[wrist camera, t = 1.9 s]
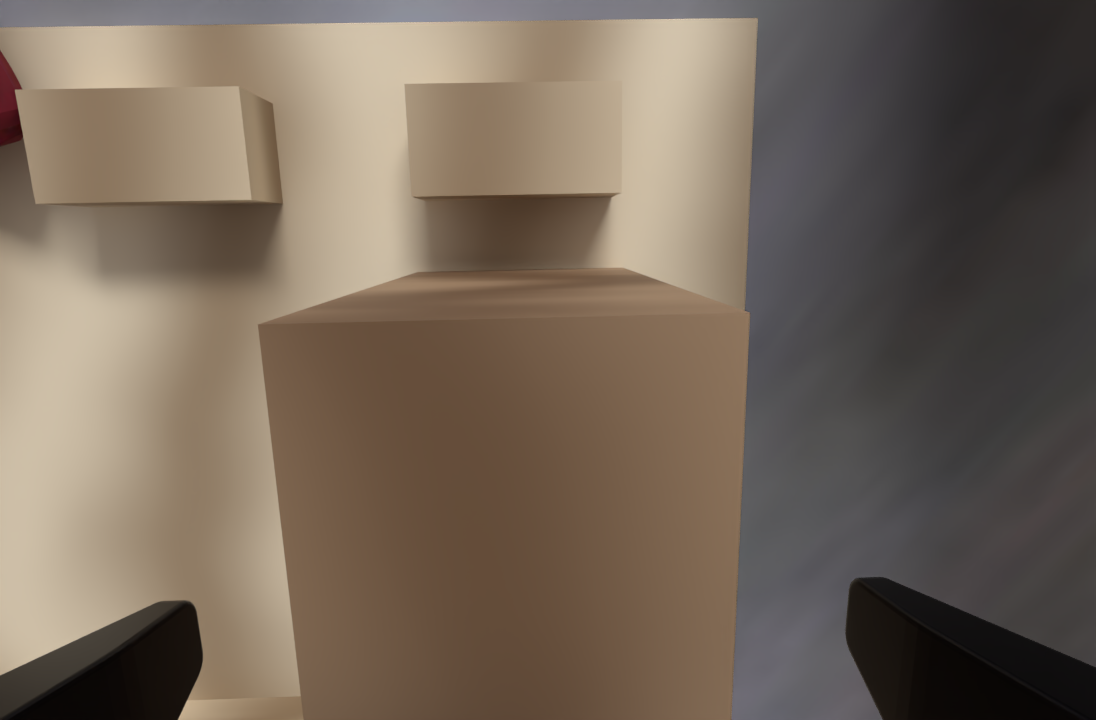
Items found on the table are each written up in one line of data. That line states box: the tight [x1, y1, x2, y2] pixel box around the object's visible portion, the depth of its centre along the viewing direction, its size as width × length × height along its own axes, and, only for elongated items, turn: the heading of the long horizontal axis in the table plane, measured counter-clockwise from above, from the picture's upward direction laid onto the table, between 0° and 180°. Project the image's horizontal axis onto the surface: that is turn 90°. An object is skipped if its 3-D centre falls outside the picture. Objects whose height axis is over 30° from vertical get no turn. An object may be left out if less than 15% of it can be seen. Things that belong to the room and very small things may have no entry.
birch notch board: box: [0, 18, 758, 720], centre depth 14 cm, size 24×19×3 cm
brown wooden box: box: [258, 268, 750, 720], centre depth 10 cm, size 4×9×8 cm, turn 1°
